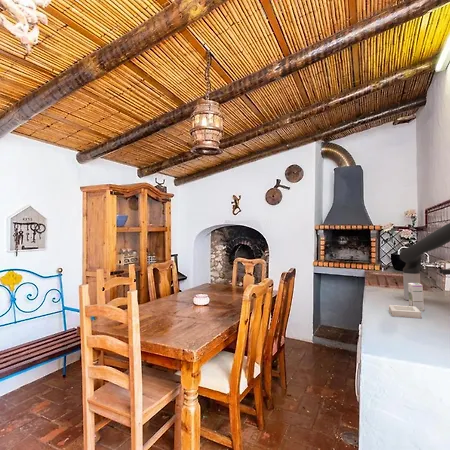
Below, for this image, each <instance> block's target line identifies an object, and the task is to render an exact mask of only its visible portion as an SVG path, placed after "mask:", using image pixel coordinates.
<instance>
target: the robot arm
mask: <svg viewBox="0 0 450 450" xmlns="http://www.w3.org/2000/svg"><path fill="white" fill-rule="evenodd" d="M448 243H450V223H447V224H445V225H443V226H442V227H440V228H437V229H436V230H435V231H432V232H431V233H430V234H428V235H427V236H425V237H424V238H422V239H420V240H419V241H418V242H416V243H414V244H412V245H410V246H408V247H406V248H403V249H402V250H401V251H400V252H399V259H400V260H401V261H402V262H404V263H405V265H404V267H403V268H402V277H403V299H404V300H406V301H409V293H408V283H419V284H421V270H422V269H421V268H422V255H423V254H425V253H427V252H428V253H429V252H431V251H434V250H436V249H439V248H441V247H443V246H445V245H446V244H448ZM439 274H442V275H444V276H446V275H447V276H449V275H450V267H449V268H444V269H439Z"/></svg>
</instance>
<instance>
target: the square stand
mask: <svg viewBox="0 0 450 450" xmlns="http://www.w3.org/2000/svg"><path fill="white" fill-rule="evenodd" d="M388 311H389V313H390V315H391V317H395V316H396V317H397V318H398V317H399V318H409V317H410V319H411V318H412V319H422V317H423V316H422V311H419V309H418V308H417V307H413V306H409V305H408V306H407V305H396V304H395V305H394V304H388Z"/></svg>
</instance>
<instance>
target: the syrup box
mask: <svg viewBox="0 0 450 450" xmlns="http://www.w3.org/2000/svg"><path fill="white" fill-rule="evenodd" d="M408 293H409V300H408V306H413V307H417V308H418V309H419V311H420V312H423V311H424V312H425V301H424V300H425V299H424V289H423V284H421V283H420V284H419V283H408Z"/></svg>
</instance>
